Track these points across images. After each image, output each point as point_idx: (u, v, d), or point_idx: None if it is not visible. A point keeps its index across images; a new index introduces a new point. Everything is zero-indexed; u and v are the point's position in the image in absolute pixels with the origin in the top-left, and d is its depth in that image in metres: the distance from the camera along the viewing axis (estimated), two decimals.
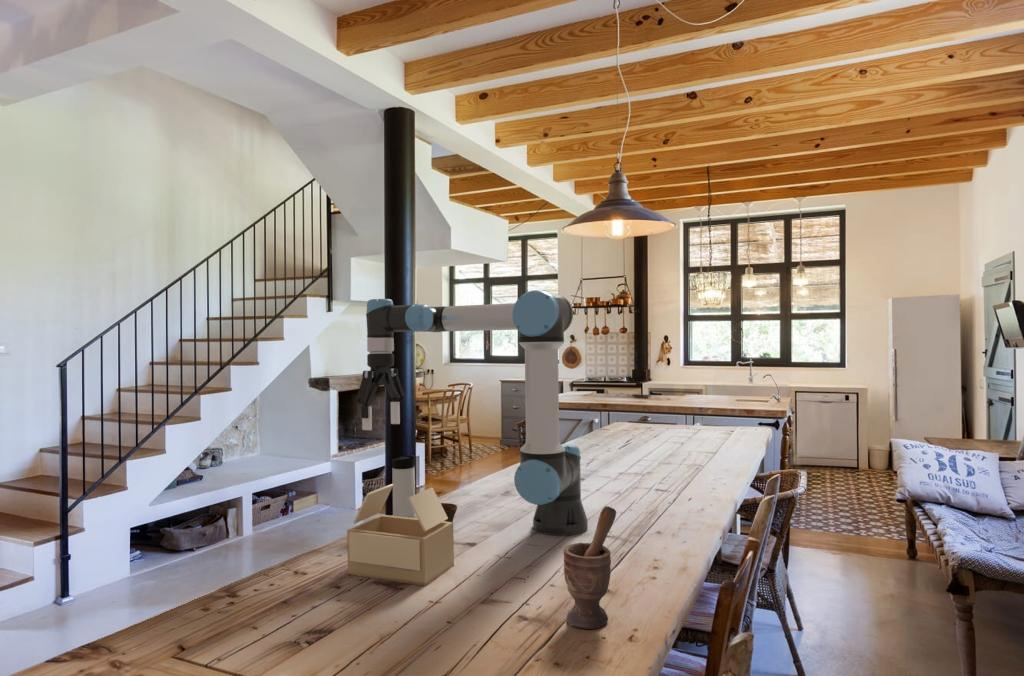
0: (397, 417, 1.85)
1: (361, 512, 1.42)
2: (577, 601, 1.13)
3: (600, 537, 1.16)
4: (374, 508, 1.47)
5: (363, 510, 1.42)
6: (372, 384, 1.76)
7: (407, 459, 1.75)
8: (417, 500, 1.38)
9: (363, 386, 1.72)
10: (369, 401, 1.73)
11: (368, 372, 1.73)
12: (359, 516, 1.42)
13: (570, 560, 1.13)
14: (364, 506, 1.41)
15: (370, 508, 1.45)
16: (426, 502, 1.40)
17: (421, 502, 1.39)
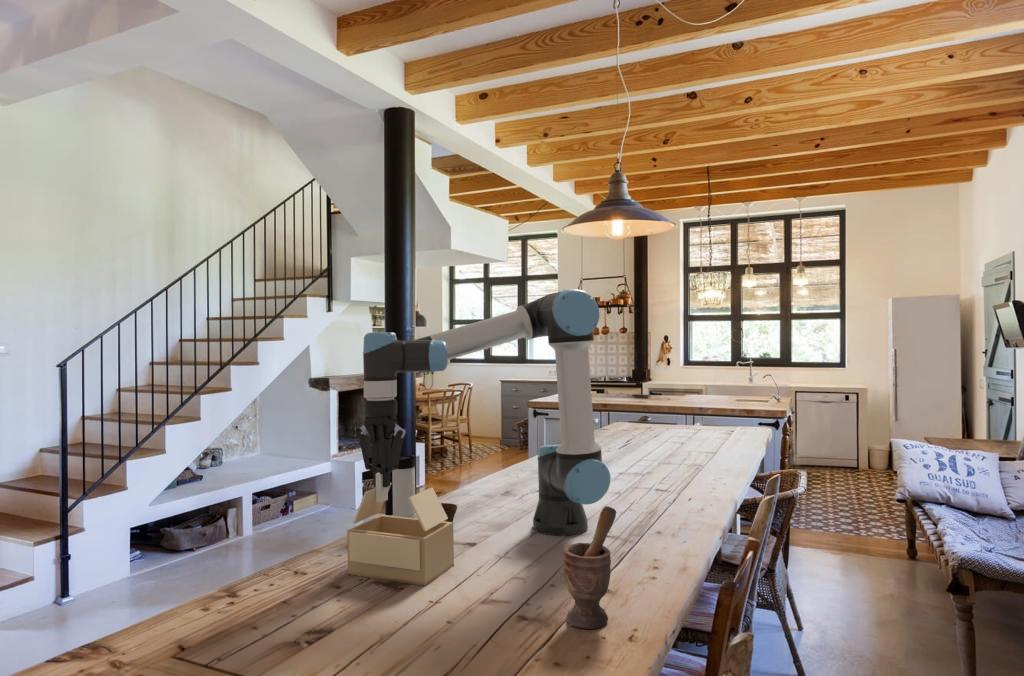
0: None
1: (361, 511, 1.42)
2: (577, 601, 1.13)
3: (600, 537, 1.16)
4: (374, 507, 1.47)
5: (362, 509, 1.42)
6: None
7: (407, 459, 1.75)
8: (417, 500, 1.38)
9: None
10: (373, 466, 1.44)
11: None
12: (358, 516, 1.42)
13: (570, 560, 1.13)
14: (363, 505, 1.42)
15: (370, 508, 1.45)
16: (426, 502, 1.40)
17: (421, 502, 1.39)
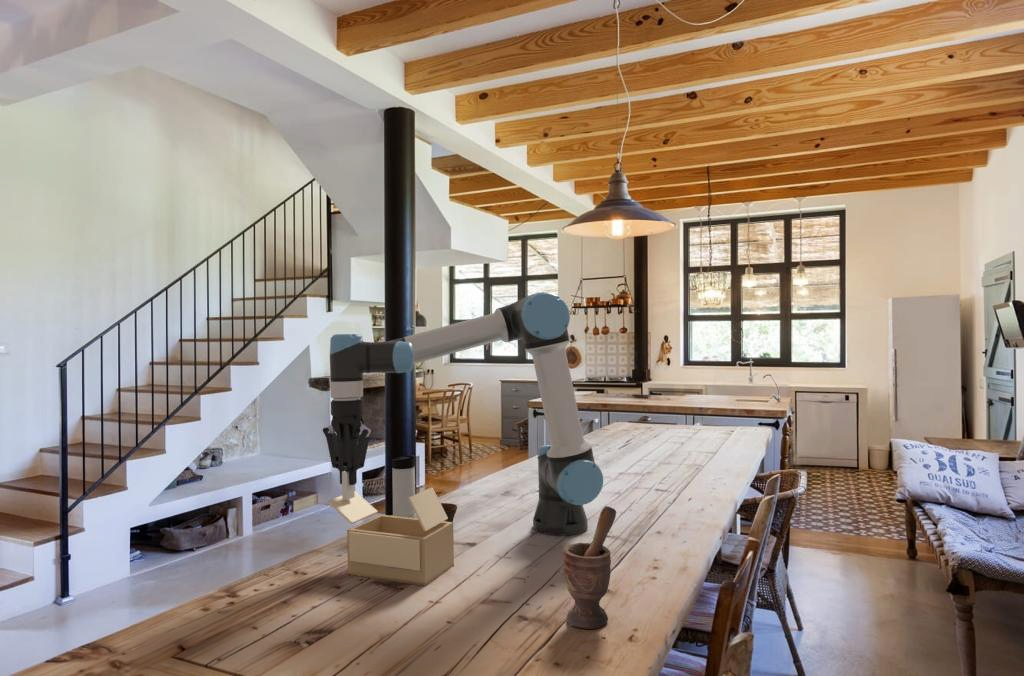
0: None
1: (345, 513, 1.43)
2: (577, 601, 1.13)
3: (600, 537, 1.16)
4: (361, 509, 1.48)
5: (345, 512, 1.44)
6: None
7: (407, 459, 1.75)
8: (417, 500, 1.38)
9: None
10: (340, 464, 1.48)
11: None
12: (348, 516, 1.43)
13: (570, 560, 1.13)
14: (340, 509, 1.44)
15: (355, 510, 1.47)
16: (426, 502, 1.40)
17: (421, 502, 1.39)
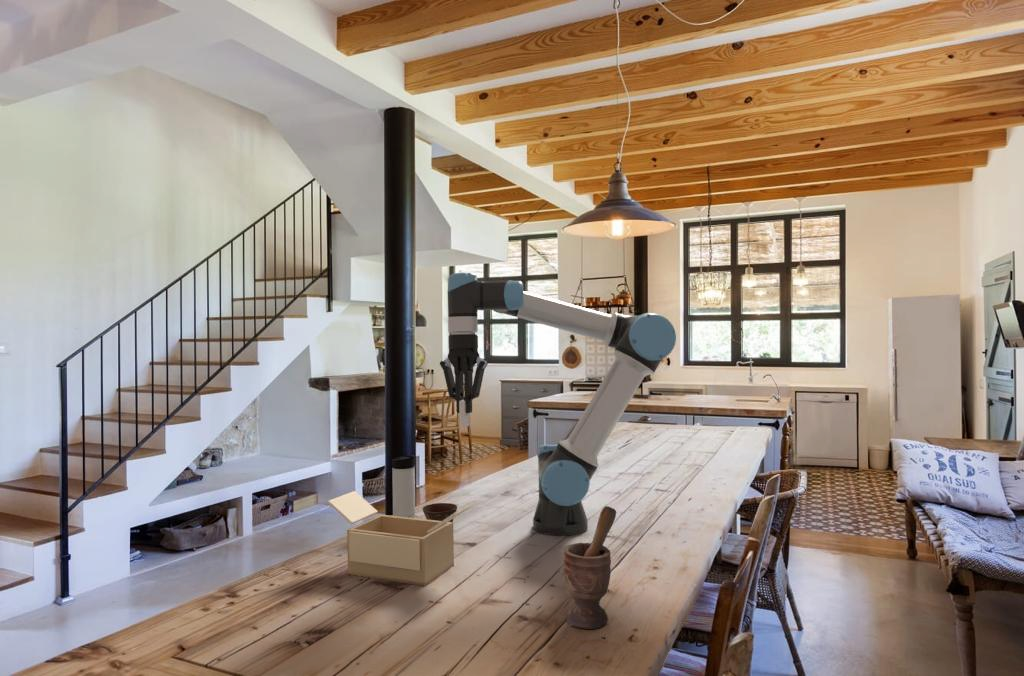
0: None
1: (345, 513, 1.43)
2: (577, 601, 1.13)
3: (600, 537, 1.16)
4: (361, 509, 1.48)
5: (345, 512, 1.44)
6: None
7: (407, 459, 1.75)
8: (455, 515, 1.34)
9: None
10: (457, 394, 1.60)
11: None
12: (348, 516, 1.43)
13: (570, 560, 1.13)
14: (340, 509, 1.44)
15: (355, 510, 1.47)
16: (456, 514, 1.37)
17: (455, 515, 1.36)
